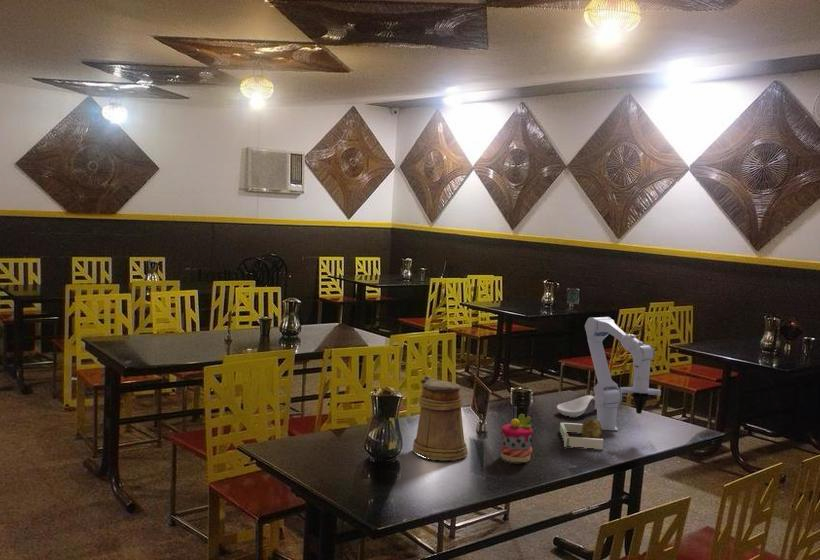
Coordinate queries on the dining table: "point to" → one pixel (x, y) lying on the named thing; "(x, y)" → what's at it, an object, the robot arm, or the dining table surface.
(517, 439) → the cake
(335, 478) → the dining table surface
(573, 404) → the spoon rest
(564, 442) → the flag
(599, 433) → the potato
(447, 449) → the tankard
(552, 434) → the dining table surface
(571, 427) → the corral
